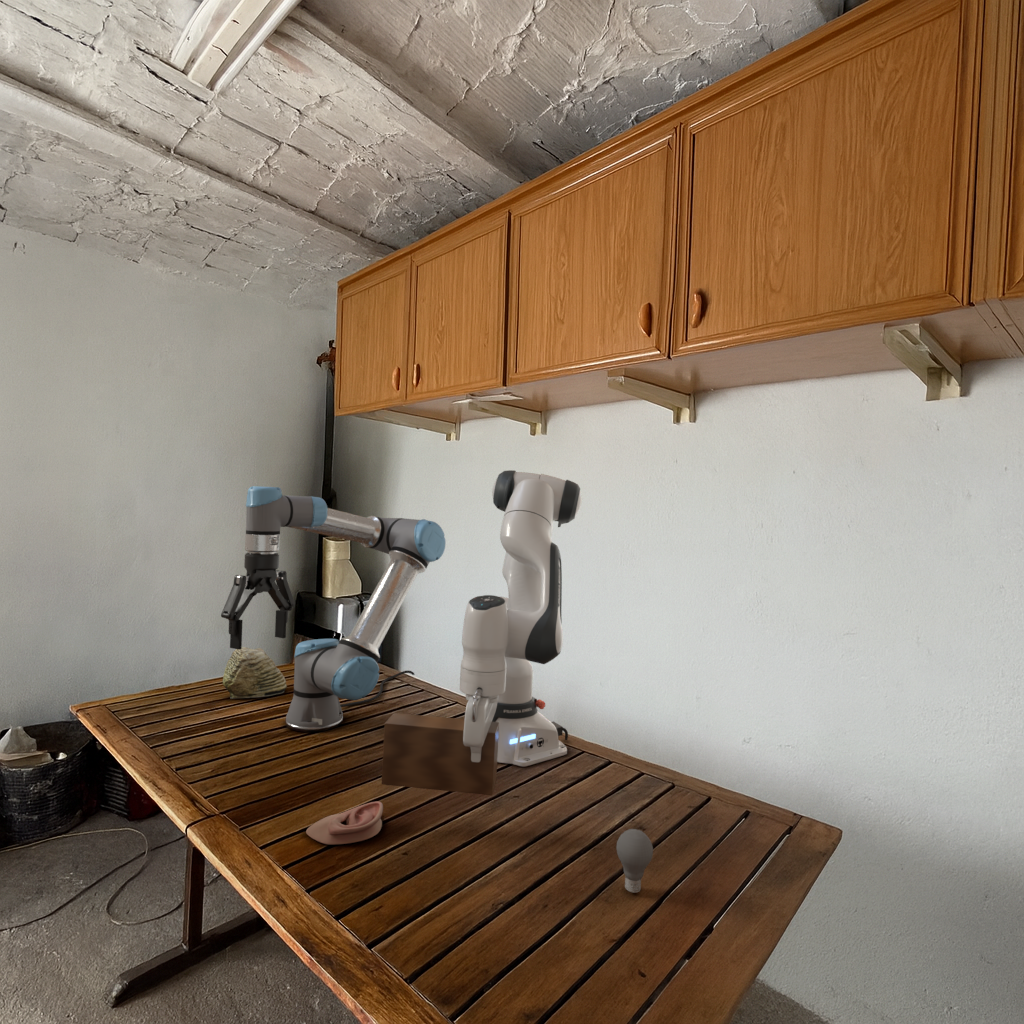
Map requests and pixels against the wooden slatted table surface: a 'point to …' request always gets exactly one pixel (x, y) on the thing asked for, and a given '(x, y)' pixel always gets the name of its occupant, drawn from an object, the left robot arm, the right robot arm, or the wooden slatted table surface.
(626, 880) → the light bulb
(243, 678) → the fossil
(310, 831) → the anatomical model
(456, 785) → the box
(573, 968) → the wooden slatted table surface
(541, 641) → the right robot arm
